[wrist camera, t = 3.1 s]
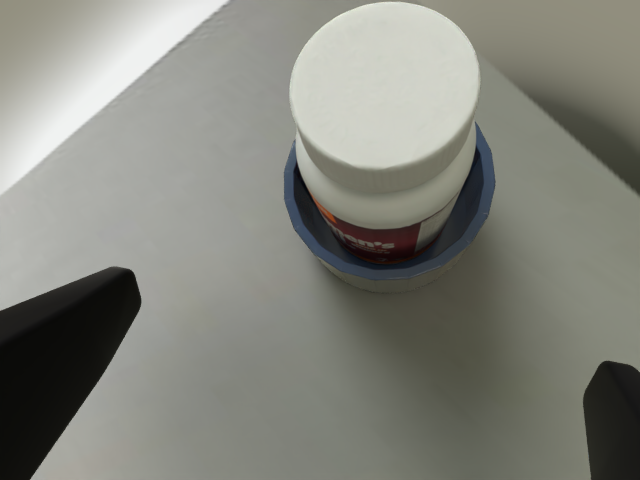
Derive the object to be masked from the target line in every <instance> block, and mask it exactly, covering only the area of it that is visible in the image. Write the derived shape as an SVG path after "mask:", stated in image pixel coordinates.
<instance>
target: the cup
mask: <svg viewBox="0 0 640 480" xmlns="http://www.w3.org/2000/svg"><path fill="white" fill-rule="evenodd" d="M475 127H476V147H475V153H474V158H473V162H472V165H471V169H470V171H469V174H468V176H467V178H466V180H465V182H464V185H463V187H462V189H461V191H460V193H459V195H458V198H457V200H456V202H455V205H454V207H453V209H452V211H451V214H450V216H449V219H448V221H447V223H446V225H445V227H444V229H443V231H442V233H441V234H440V236H439V237H438V239H437V240H436V241H435V243H434V244H433V245H432V246H431V247H430V248H429V249H428V250H426V251H425V252H424V253H422V254H421V255H419V256H418V257H416V258H414V259H411V260H409V261H406V262H402V263H398V264H388V265H387V264H375V263H370V262H367V261H364V260H362V259H359V258H357V257H356V256H354V255H352V254H351V253H349V252H348V251H347V250H346V249H344V248H343V247H342V246H341V244H340V243H339V242H338V241H337V239H336V238H335V237H334V235H333V233H332V232H331V230H330V228H329V227H328V225H327V224H326V222H325V220H324V218H323V216H322V214H321V213H320V211H319V209H318V207H317V205H316V203H315V202H314V200H313V198H312V196H311V194H310V192H309V190H308V188H307V186H306V184H305V182H304V180H303V178H302V175H301V173H300V170H299V167H298V162H297V157H296V139H295V141H294V143H293V145H292V148H291V151H290V154H289V157H288V160H287V163H286V166H285V171H284V200H285V204H286V207H287V210H288V213H289V216H290V219H291V222H292V224H293V227H294V229H295V231H296V232H297V233H298V235H299V236H300V237H301V239H302V240H303V241H304V242H305V244H306V245H307V246H308V248H309V249H310V250H311V251H312V253H313V254H314V255H315V256H316V257H317V258H318V259H319V260H320V261H321V262H322V263H323V265H324V266H325V267H326V268H327V269H328V270H329V271H330V272H332V273H333V274H335V275H336V276H337V277H339V278H340V279H342V280H343V281H345V282H347V283H348V284H350V285H352V286H355V287H357V288H360V289H363V290H366V291H371V292H376V293H401V292H407V291H411V290H414V289H417V288H420V287H423V286H425V285H427V284H429V283H431V282H433V281H435V280H436V279H437V278H439V277H440V276H442V275H443V274H444V273H445V272H446V271H448V270H449V269H450V268H451V267H452V266H454V265H455V263H456V262H457V261H458V260H459V258H460V257H461V256H462V254H463V253H464V252H465V250H466V249H467V248H468V247H469V245H470V244H471V242H472V241H473V239H474V238H475V236H476V235H477V233H478V231H479V230H480V228H481V227H482V225H483V224H484V222H485V220H486V219H487V217H488V215H489V211H490V207H491V202H492V198H493V194H494V189H495V183H496V182H495V174H494V166H493V159H492V153H491V150H490V148H489V146H488V144H487V142H486V140H485V138H484V136H483V134H482V132H481V130H480V128H479V126H478V125H477V124H476V122H475Z"/></svg>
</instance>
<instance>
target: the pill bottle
mask: <svg viewBox="0 0 640 480" xmlns="http://www.w3.org/2000/svg"><path fill="white" fill-rule="evenodd" d="M480 88H481V75H480V67H479V63H478V59H477V56H476V53H475V51H474V49H473V47H472V45H471V43H470V41H469V40H468V38H467V37H466V35H465V34H464V33H463V32H462V31H461V29H460V28H459V27H458V26H457V25H455V24H454V23H453V22H452V21H450V20H449V19H448V18H446V17H445V16H443V15H441V14H440V13H438V12H436V11H433V10H431V9H429V8H426V7H423V6H420V5H416V4H411V3H404V2H380V3H374V4H368V5H364V6H361V7H358V8H355V9H353V10H350V11H347V12H345V13H343V14H341V15H339V16H337V17H336V18H334V19H332V20H331V21H330V22H328V23H327V24H325V25H324V26H323V27H322V28H321V29H320V30H318V31H317V32H316V33H315V34H314V35H313V36H312V38H311V39H310V40H309V41H308V42H307V44H306V45H305V46H304V48H303V49H302V51H301V53H300V55H299V56H298V59H297V61H296V63H295V65H294V68H293V71H292V75H291V81H290V90H289V96H290V107H291V112H292V115H293V119H294V122H295V124H296V127H297V133H296V157H297V162H298V167H299V170H300V173H301V175H302V178H303V180H304V182H305V184H306V186H307V188H308V190H309V192H310V194H311V196H312V198H313V200H314V202H315V203H316V205H317V207H318V209H319V211H320V213H321V214H322V216H323V218H324V220H325V222H326V224H327V225H328V227H329V228H330V230H331V232H332V233H333V235H334V237H335V238H336V239H337V241H338V242H339V243H340V244H341V246H342V247H343V248H344V249H346V250H347V251H348V252H349V253H351V254H352V255H354V256H356V257H357V258H359V259H362V260H364V261H367V262H370V263H375V264H387V265H388V264H398V263H402V262H406V261H409V260H411V259H414V258H416V257H418V256H419V255H421V254H422V253H424V252H425V251H426V250H428V249H429V248H430V247H431V246H432V245H433V244H434V243H435V241H436V240H437V239H438V237H439V236H440V234H441V233H442V231H443V229H444V227H445V225H446V223H447V221H448V219H449V216H450V214H451V211H452V209H453V207H454V205H455V202H456V200H457V198H458V195H459V193H460V191H461V189H462V187H463V185H464V182H465V180H466V178H467V176H468V174H469V171H470V169H471V165H472V162H473V158H474V153H475V147H476V127H475V121H474V114H475V111H476V108H477V104H478V101H479V94H480Z"/></svg>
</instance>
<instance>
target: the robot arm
mask: <svg viewBox="0 0 640 480" xmlns="http://www.w3.org/2000/svg"><path fill="white" fill-rule="evenodd" d="M140 307H141V295H140V292H139V288H138V285H137V281H136V277H135V274H134V273H133V271H132V270H130V269H126V268H121V267H109V268H107V269H104V270H102V271H99V272H97V273H94V274H92V275H89V276H87V277H84V278H82V279H79V280H77V281H74V282H72V283H69V284H67V285H64V286H62V287H59V288H57V289H54V290H52V291H49V292H47V293H44V294H42V295H39V296H36V297H34V298H31V299H29V300H26V301H24V302H21V303H19V304H16V305H14V306H11V307H9V308H6V309H4V310H1V311H0V480H30V479H31V477H32V476H33V475H34V473H35V472H36V470H37V469H38V467H39V466H40V465H41V463H42V462H43V460H44V459H45V457H46V456H47V454H48V453H49V452H50V450H51V449H52V447H53V446H54V444H55V443H56V441H57V440H58V439H59V437H60V436H61V434H62V433H63V431H64V430H65V429H66V427H67V426H68V424H69V423H70V421H71V420H72V418H73V417H74V416H75V414H76V413H77V411H78V410H79V408H80V407H81V405H82V404H83V403H84V401H85V400H86V398H87V397H88V395H89V394H90V392H91V391H92V390H93V388H94V387H95V385H96V384H97V382H98V381H99V379H100V378H101V376H102V375H103V373H104V372H105V370H106V369H107V367H108V365H109V363H110V362H111V360H112V358H113V357H114V355H115V353H116V351H117V349H118V348H119V346H120V344H121V342H122V340H123V339H124V337H125V335H126V333H127V331H128V330H129V328H130V326H131V324H132V322H133V321H134V319H135V317H136V315H137V313H138V312H139V310H140ZM583 408H584V417H585V426H586V435H587V445H588V454H589V463H590V472H591V480H640V372H639V371H638V370H637V369H635V368H634V367H633V366H631V365H628V364H623V363H617V362H612V361H604V362H602V363H601V364H600V365H599V367H598V368H597V370H596V372H595V374H594V376H593V377H592V379H591V381H590V383H589V385H588V386H587V388H586V390H585V393H584V397H583Z"/></svg>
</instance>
